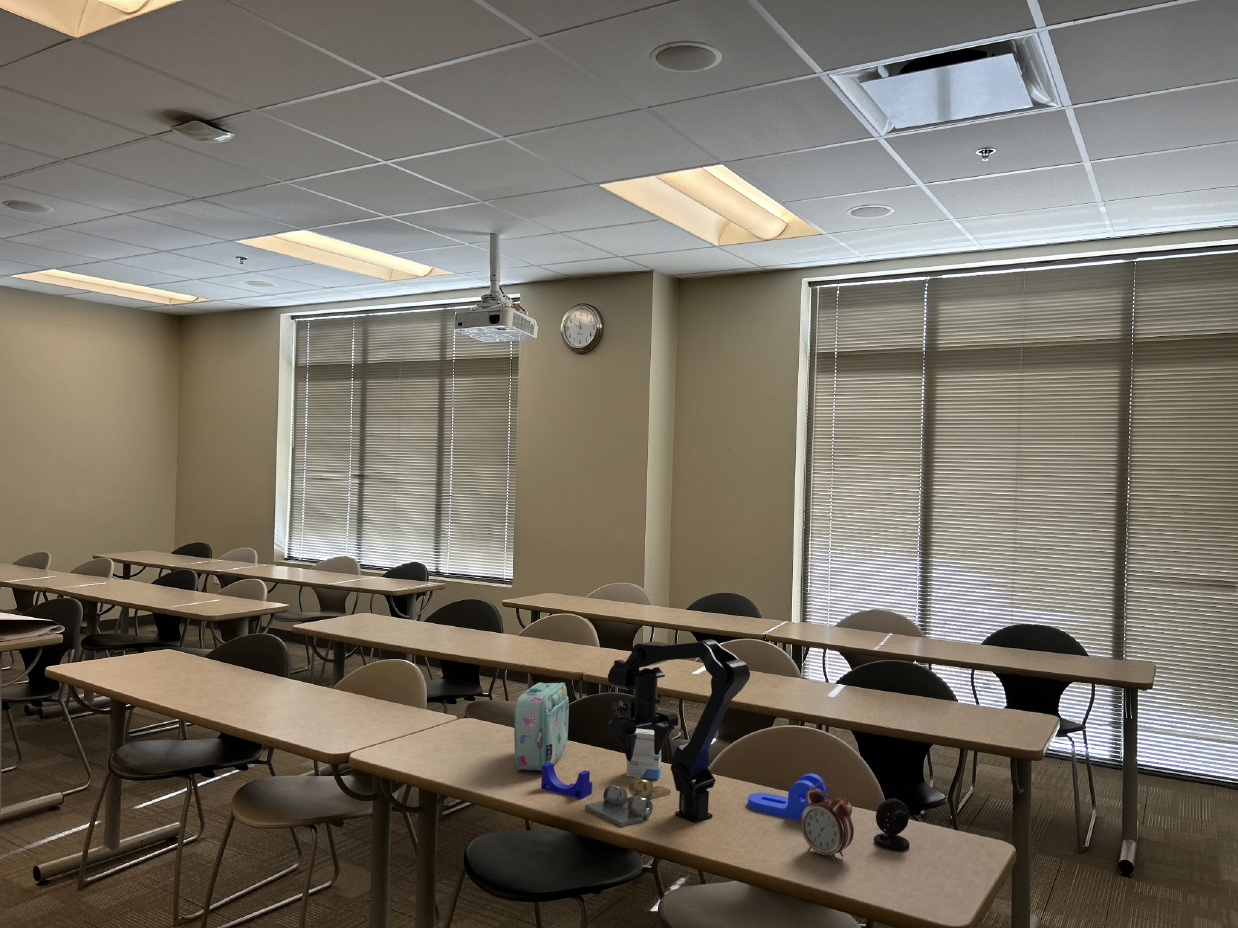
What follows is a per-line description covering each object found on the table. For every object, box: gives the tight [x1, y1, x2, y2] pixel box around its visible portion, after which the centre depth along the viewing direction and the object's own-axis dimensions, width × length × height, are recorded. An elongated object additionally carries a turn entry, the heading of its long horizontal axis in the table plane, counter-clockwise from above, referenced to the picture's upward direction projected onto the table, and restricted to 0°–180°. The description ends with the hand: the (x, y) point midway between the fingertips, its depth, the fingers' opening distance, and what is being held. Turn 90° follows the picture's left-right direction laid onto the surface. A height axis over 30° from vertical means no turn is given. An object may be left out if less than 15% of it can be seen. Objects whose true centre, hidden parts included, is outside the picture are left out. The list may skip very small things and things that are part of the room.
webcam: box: [873, 798, 911, 852], centre depth 192 cm, size 8×8×10 cm
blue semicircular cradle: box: [540, 763, 593, 800], centre depth 217 cm, size 12×4×6 cm, turn 62°
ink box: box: [625, 728, 662, 781], centre depth 231 cm, size 9×5×12 cm, turn 76°
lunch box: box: [513, 682, 569, 772], centre depth 239 cm, size 27×10×21 cm, turn 171°
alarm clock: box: [800, 782, 855, 863], centre depth 184 cm, size 11×5×15 cm, turn 45°
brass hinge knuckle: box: [628, 777, 672, 800], centre depth 216 cm, size 4×10×4 cm, turn 131°
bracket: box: [747, 772, 828, 822], centre depth 210 cm, size 18×8×9 cm, turn 61°
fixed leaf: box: [584, 784, 654, 828], centre depth 203 cm, size 14×10×4 cm
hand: (643, 757), depth 215 cm, fingers open, 9 cm apart
